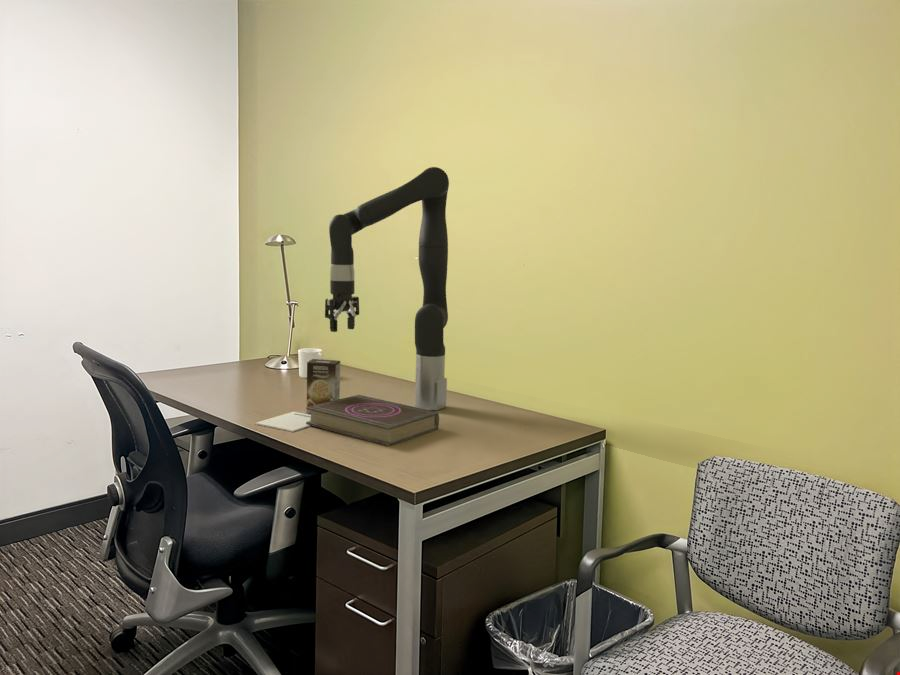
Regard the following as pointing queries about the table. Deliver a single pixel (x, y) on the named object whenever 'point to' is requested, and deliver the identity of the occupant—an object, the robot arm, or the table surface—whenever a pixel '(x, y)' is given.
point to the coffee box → (322, 382)
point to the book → (373, 419)
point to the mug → (307, 359)
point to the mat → (287, 421)
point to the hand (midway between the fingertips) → (342, 330)
